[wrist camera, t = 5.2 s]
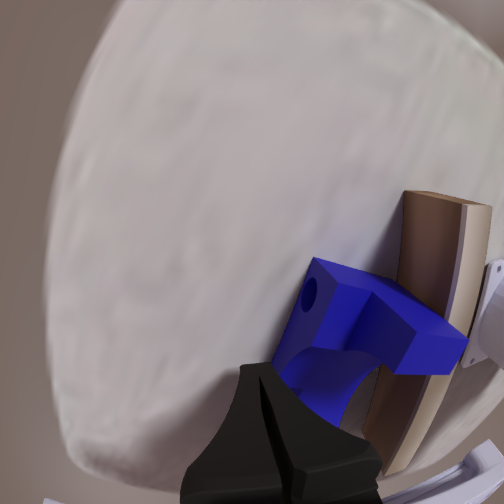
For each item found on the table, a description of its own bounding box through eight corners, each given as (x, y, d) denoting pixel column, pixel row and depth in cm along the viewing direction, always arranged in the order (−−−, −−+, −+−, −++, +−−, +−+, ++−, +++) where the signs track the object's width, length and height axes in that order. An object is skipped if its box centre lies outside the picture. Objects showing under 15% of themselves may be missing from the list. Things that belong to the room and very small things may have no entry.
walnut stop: (428, 191, 12) (492, 206, 8) (381, 426, 17) (405, 468, 13) (403, 190, 12) (467, 205, 8) (361, 432, 17) (383, 476, 13)
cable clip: (312, 256, 13) (379, 325, 7) (391, 278, 14) (469, 340, 8) (236, 436, 16) (246, 518, 10) (302, 440, 17) (326, 513, 11)
